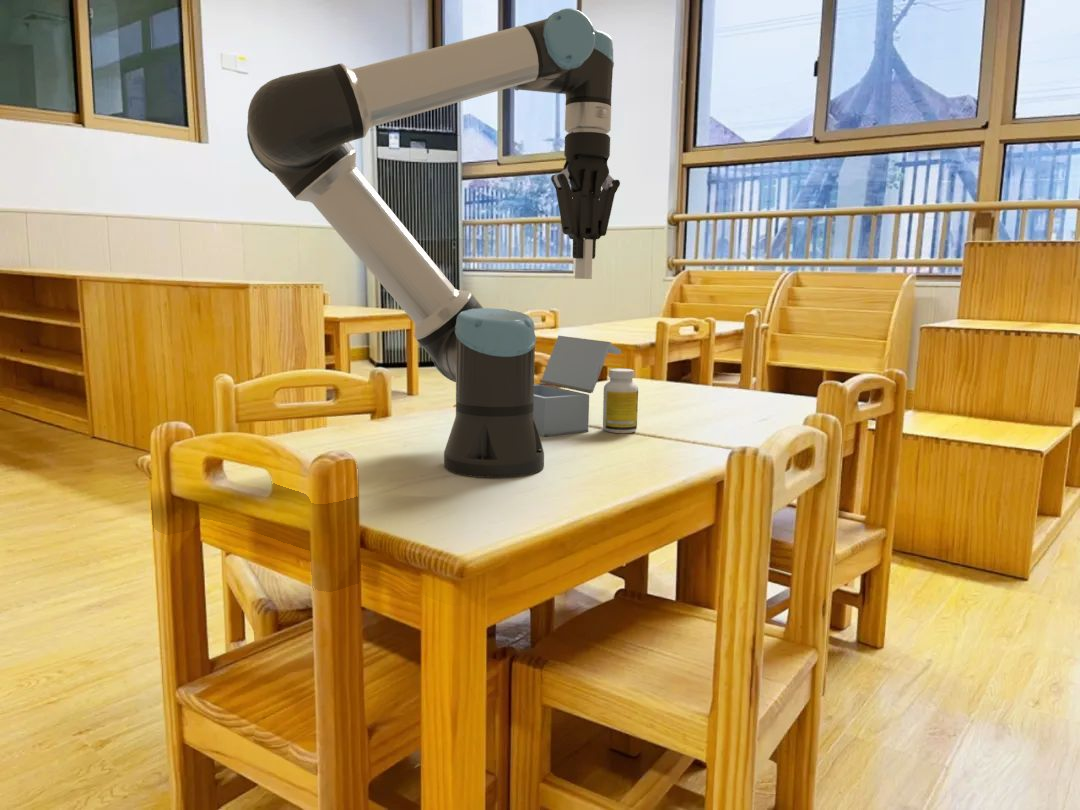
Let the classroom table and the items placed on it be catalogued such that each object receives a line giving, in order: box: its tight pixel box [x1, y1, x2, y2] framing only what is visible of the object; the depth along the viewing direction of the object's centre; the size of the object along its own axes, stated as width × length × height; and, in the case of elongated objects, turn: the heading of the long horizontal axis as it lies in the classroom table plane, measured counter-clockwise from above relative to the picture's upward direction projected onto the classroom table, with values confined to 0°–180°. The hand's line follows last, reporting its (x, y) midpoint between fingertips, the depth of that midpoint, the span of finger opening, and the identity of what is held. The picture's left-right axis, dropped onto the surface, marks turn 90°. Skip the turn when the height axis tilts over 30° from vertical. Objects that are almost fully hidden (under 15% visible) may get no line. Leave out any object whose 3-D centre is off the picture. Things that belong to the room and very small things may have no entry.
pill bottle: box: [602, 368, 639, 434], centre depth 152 cm, size 6×6×12 cm
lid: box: [539, 335, 623, 394], centre depth 159 cm, size 10×17×5 cm
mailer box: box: [533, 383, 590, 438], centre depth 155 cm, size 10×16×7 cm, turn 34°
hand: (583, 278), depth 137 cm, fingers closed
